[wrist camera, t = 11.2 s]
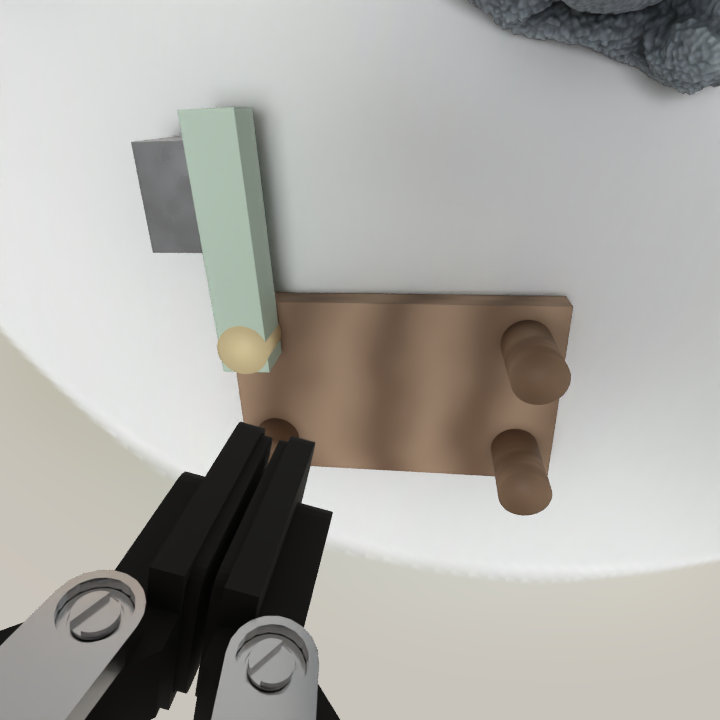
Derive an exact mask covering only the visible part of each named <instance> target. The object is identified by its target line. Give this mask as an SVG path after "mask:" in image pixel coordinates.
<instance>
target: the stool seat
mask: <svg viewBox="0 0 720 720" xmlns="http://www.w3.org/2000/svg"><path fill="white" fill-rule="evenodd" d="M275 300H276V308H277V317H278V323H279V325H280V328H281V340H280V341H281V349H282V353H281V355H280V356H279V358H278V359H277V361H276V363H275V364H274V366H273V367H272V369H271V371H270V372H255V373H252V374H241V373H237V379H238V386H239V393H240V400H241V407H242V414H243V421H244V423H247V424H251V425H255V426H258V427H262V428H265V436H269V437H272V438H273V441H272V446H271V451H270V456H269V461H270V459H271V457H272V454H273V452H274V450H275V448H276V446H277V444H278V442H279V440H284V441H287V442H288V441H289V439H290V437H291V436H295V437H298V438H302V439H306V440H309V441H313V442H316V443H315V448H314V453H313V457H312V461H311V465H310V466H321V467H339V468H357V469H375V470H393V471H411V472H429V473H447V474H465V475H482V476H495V479H496V485H497V491H498V498H499V501H500V503H501V505H502V506H503V507H504V508H505V509H506V510H507V511H509V512H511V513H513V514H517V515H533V514H536V513H538V512H540V511H542V510H544V509H545V508H546V507H547V506H548V505H549V503H550V501H551V499H552V490H551V486H550V483H549V480H548V477H547V475H548V469H549V462H550V455H551V449H552V442H553V436H554V429H555V423H556V416H557V409H558V403H559V398H560V397H561V396H562V395H563V394H564V393H565V392H566V391H567V389H568V387H569V385H570V381H571V374H570V370H569V368H568V366H567V364H566V362H565V357H566V350H567V344H568V337H569V330H570V324H571V317H572V311H573V306H572V305H571V303H570V302H569V300H568V299H567V297H566V296H508V295H435V294H361V293H287V292H275ZM268 463H269V462H268Z"/></svg>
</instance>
